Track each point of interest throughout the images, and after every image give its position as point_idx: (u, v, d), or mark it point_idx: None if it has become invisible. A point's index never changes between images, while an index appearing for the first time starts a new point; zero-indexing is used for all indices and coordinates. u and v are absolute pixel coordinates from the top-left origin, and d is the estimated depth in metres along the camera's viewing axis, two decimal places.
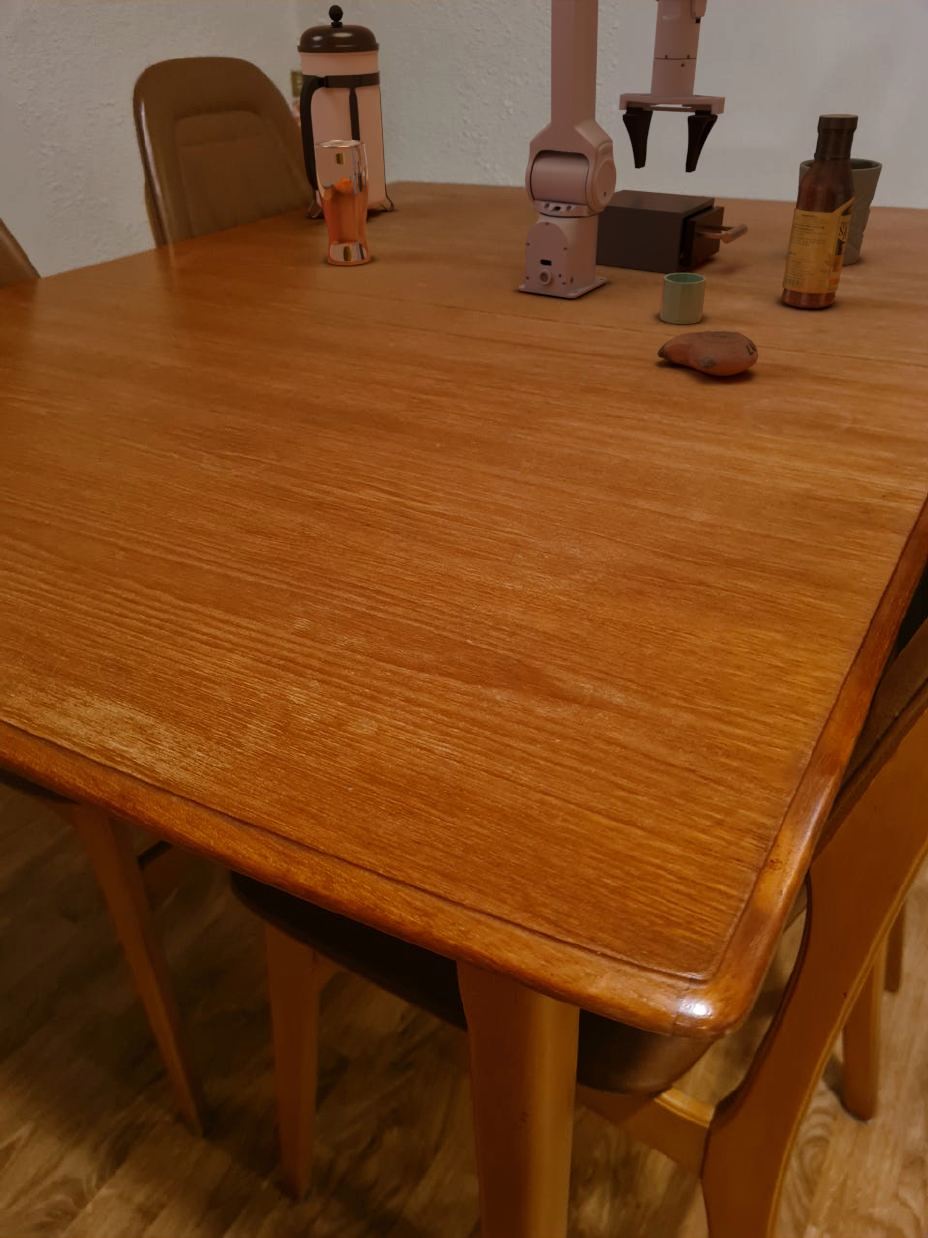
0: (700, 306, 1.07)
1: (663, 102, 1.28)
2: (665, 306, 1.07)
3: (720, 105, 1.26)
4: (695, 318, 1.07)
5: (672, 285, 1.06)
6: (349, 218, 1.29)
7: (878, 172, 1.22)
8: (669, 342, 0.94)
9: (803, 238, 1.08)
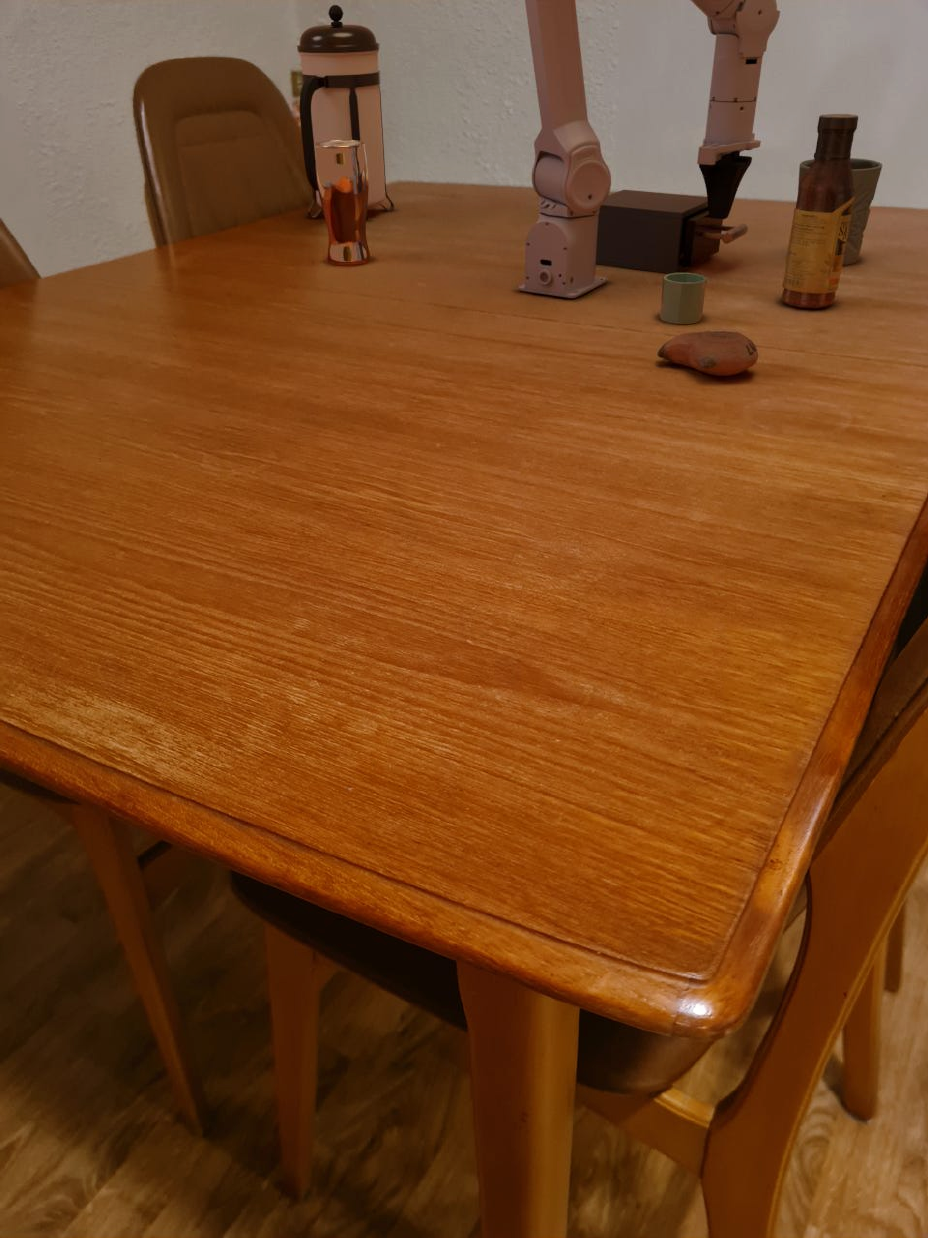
0: (700, 306, 1.07)
1: None
2: (665, 306, 1.07)
3: (700, 154, 1.15)
4: (695, 318, 1.07)
5: (672, 285, 1.06)
6: (349, 218, 1.29)
7: (878, 172, 1.22)
8: (669, 342, 0.94)
9: (803, 238, 1.08)
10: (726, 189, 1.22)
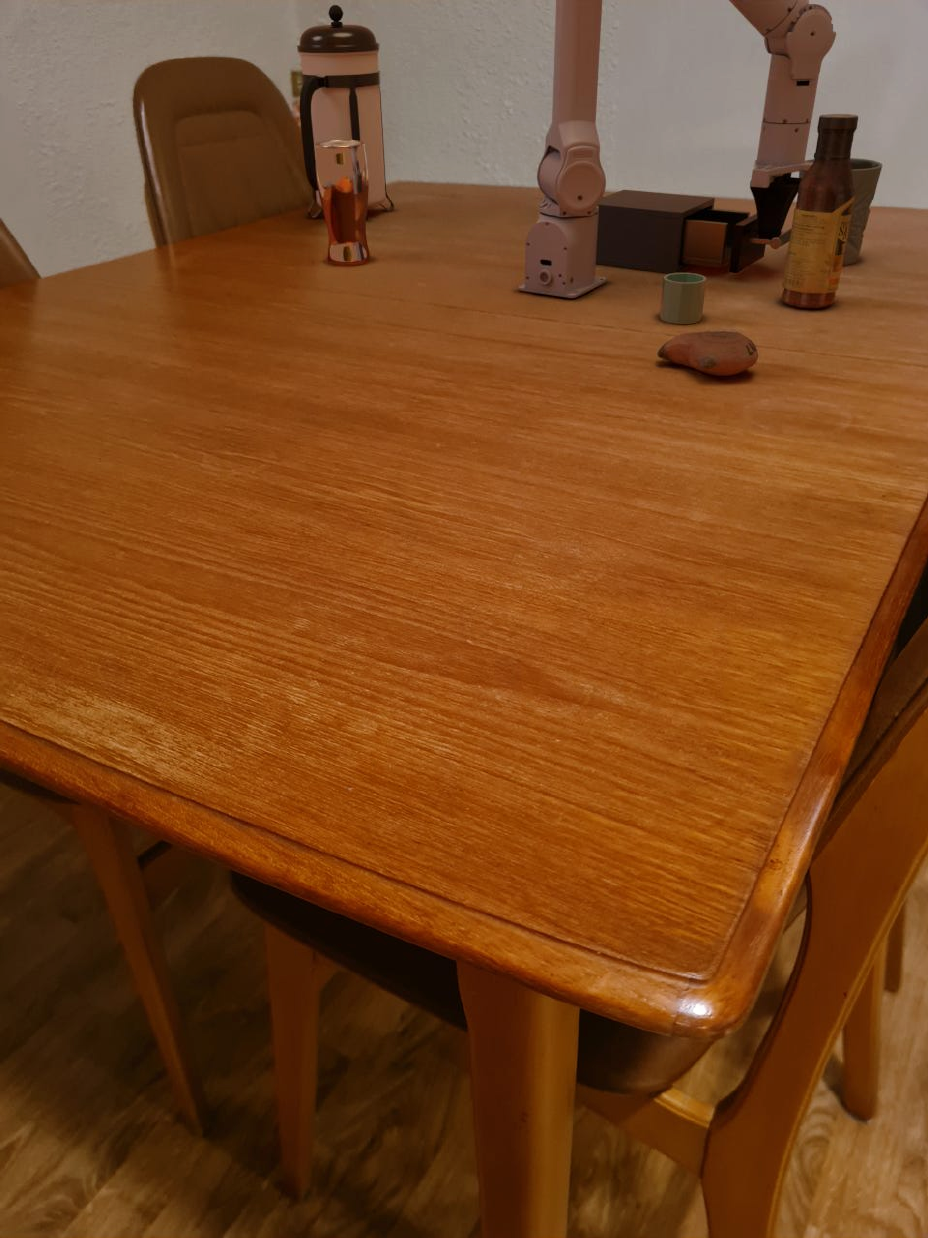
0: (700, 306, 1.07)
1: None
2: (665, 306, 1.07)
3: (754, 177, 1.13)
4: (695, 318, 1.07)
5: (672, 285, 1.06)
6: (349, 218, 1.29)
7: (878, 172, 1.22)
8: (669, 342, 0.94)
9: (803, 238, 1.08)
10: (777, 211, 1.20)
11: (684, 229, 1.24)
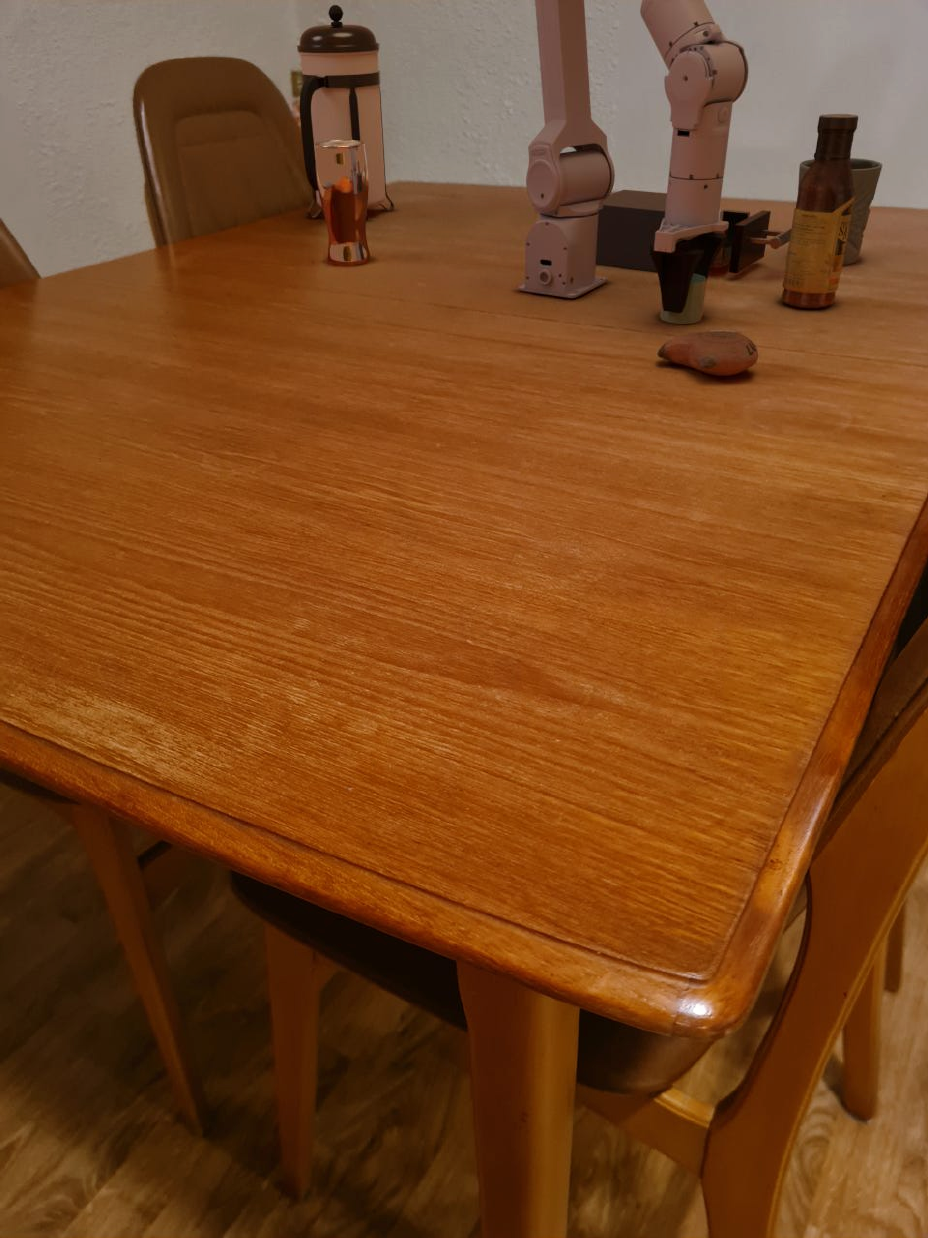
0: (700, 306, 1.07)
1: None
2: None
3: (658, 240, 0.99)
4: (695, 318, 1.07)
5: None
6: (349, 218, 1.29)
7: (878, 172, 1.22)
8: (669, 342, 0.94)
9: (803, 238, 1.08)
10: (682, 280, 1.04)
11: None
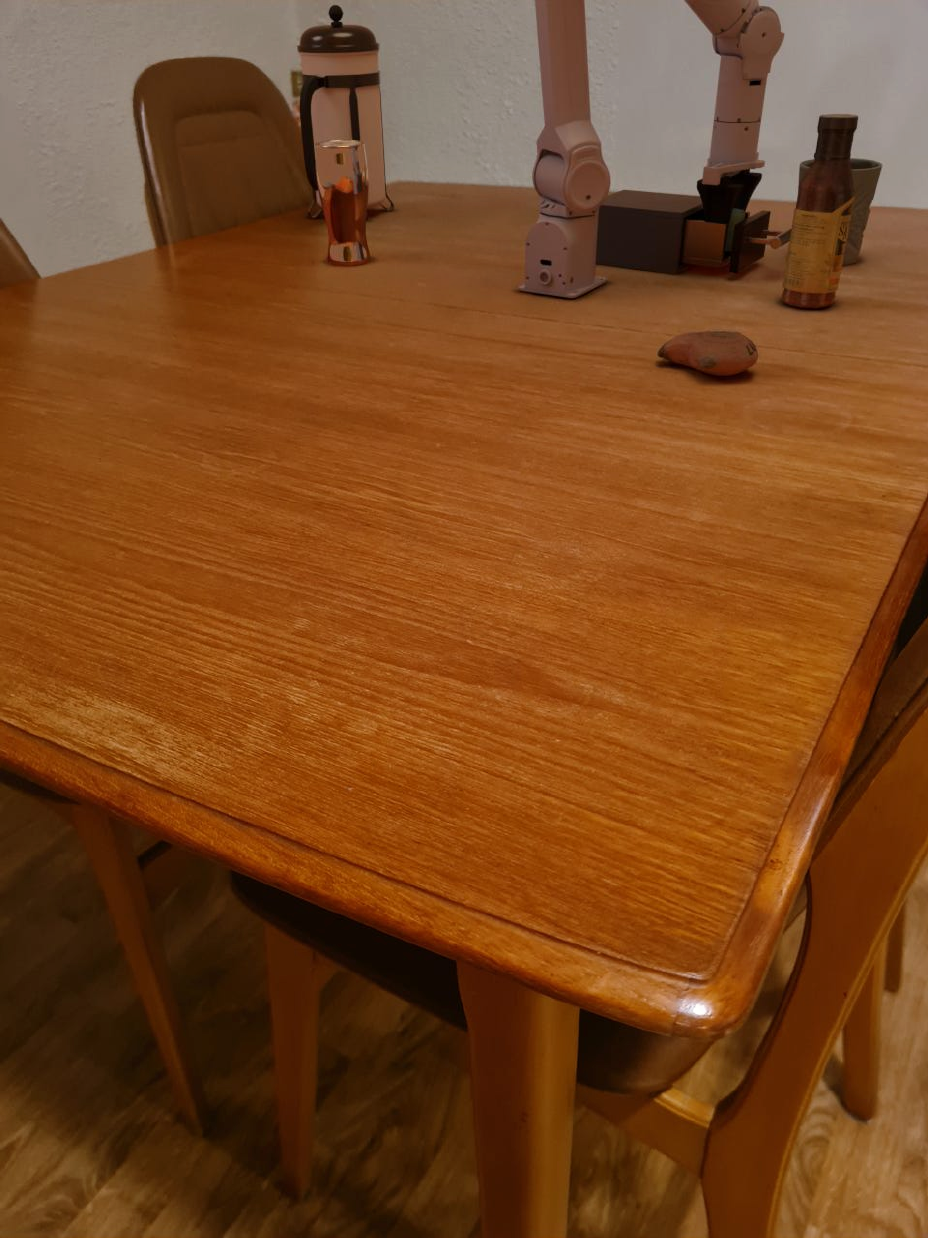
0: None
1: None
2: None
3: (705, 175, 1.16)
4: None
5: None
6: (349, 218, 1.29)
7: (878, 172, 1.22)
8: (669, 342, 0.94)
9: (803, 238, 1.08)
10: (724, 211, 1.21)
11: (684, 229, 1.24)
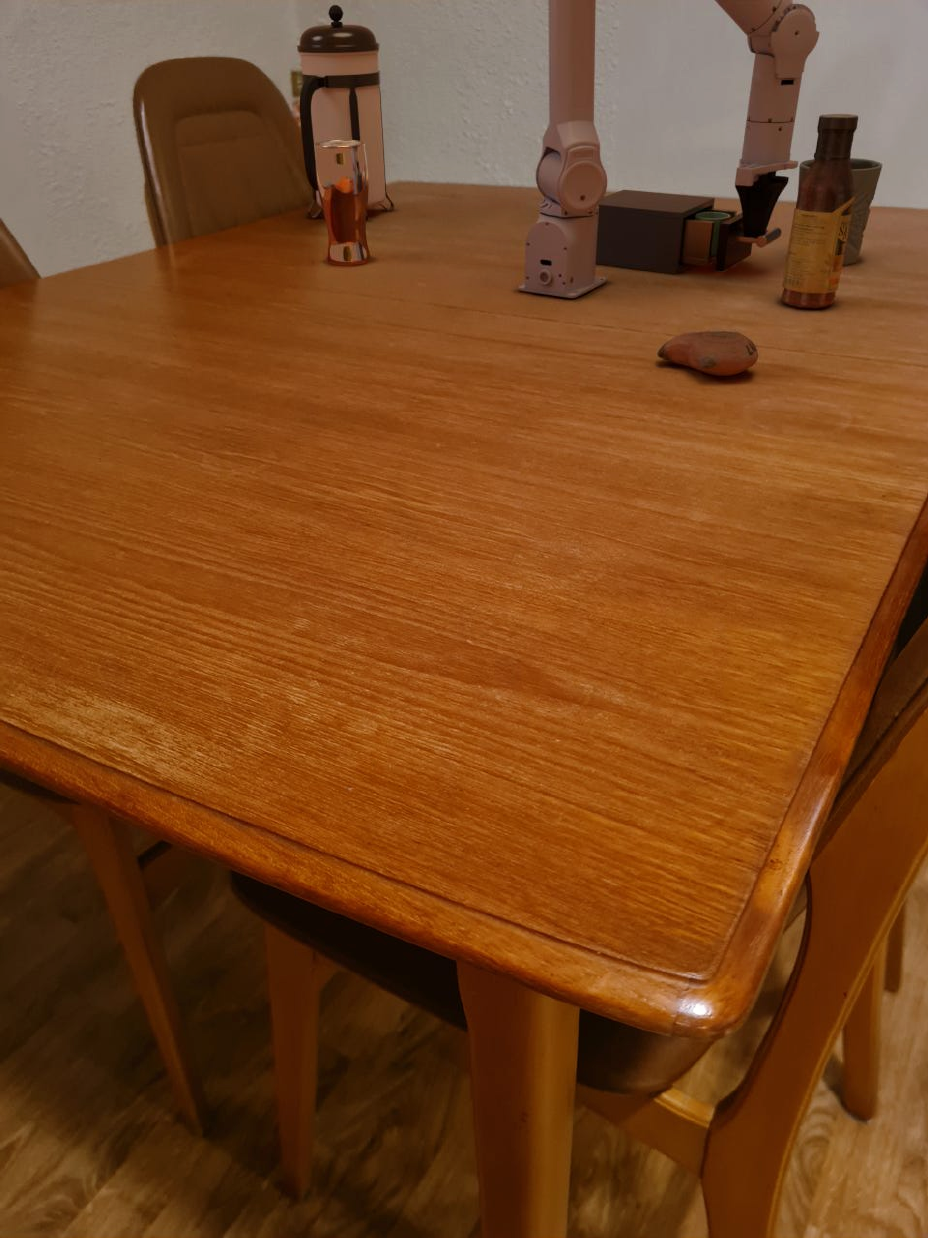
0: None
1: None
2: None
3: (738, 176, 1.14)
4: None
5: None
6: (349, 218, 1.29)
7: (878, 172, 1.22)
8: (669, 342, 0.94)
9: (803, 238, 1.08)
10: (762, 209, 1.21)
11: None
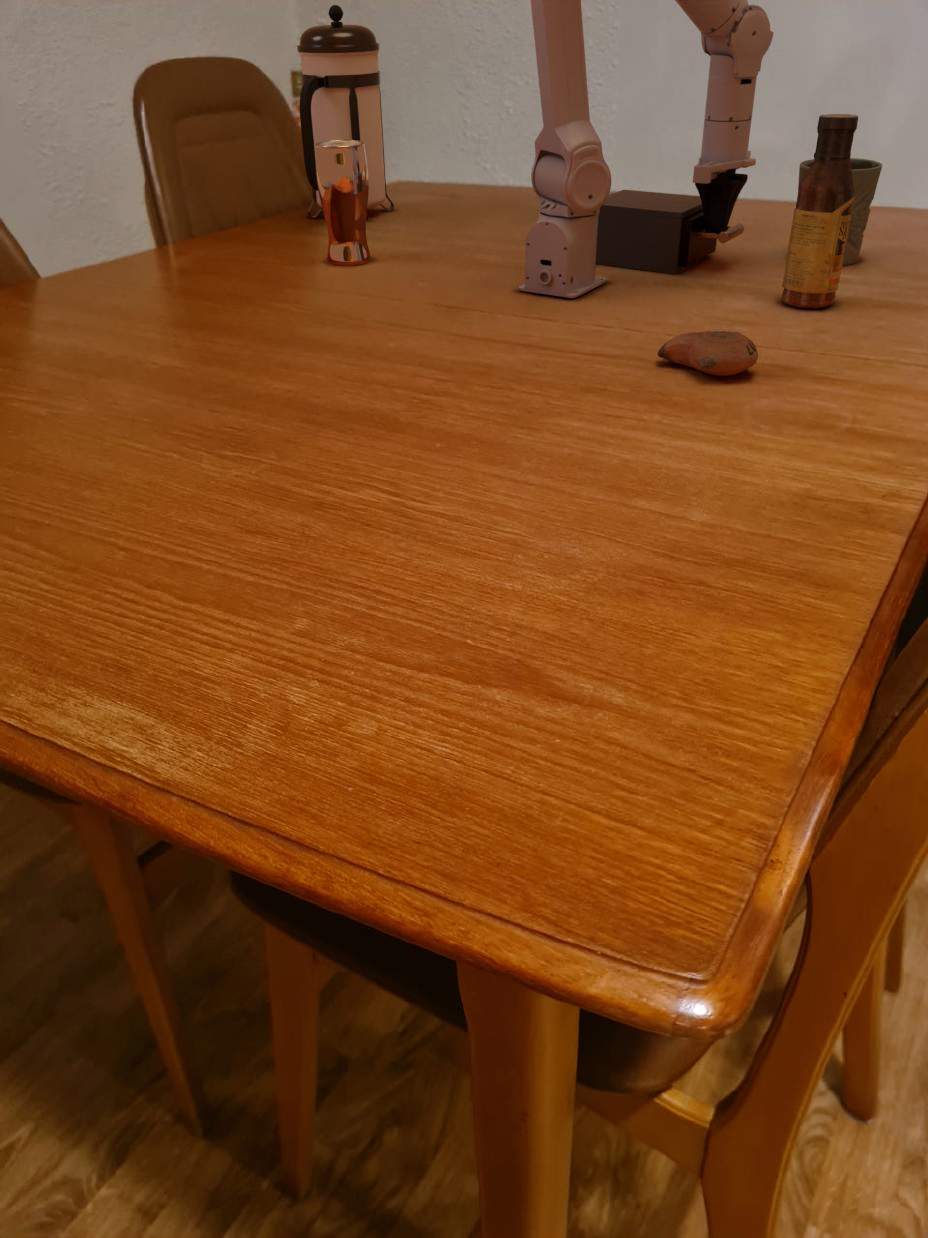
0: None
1: None
2: None
3: (696, 173, 1.17)
4: None
5: None
6: (349, 218, 1.29)
7: (878, 172, 1.22)
8: (669, 342, 0.94)
9: (803, 238, 1.08)
10: (722, 207, 1.23)
11: None
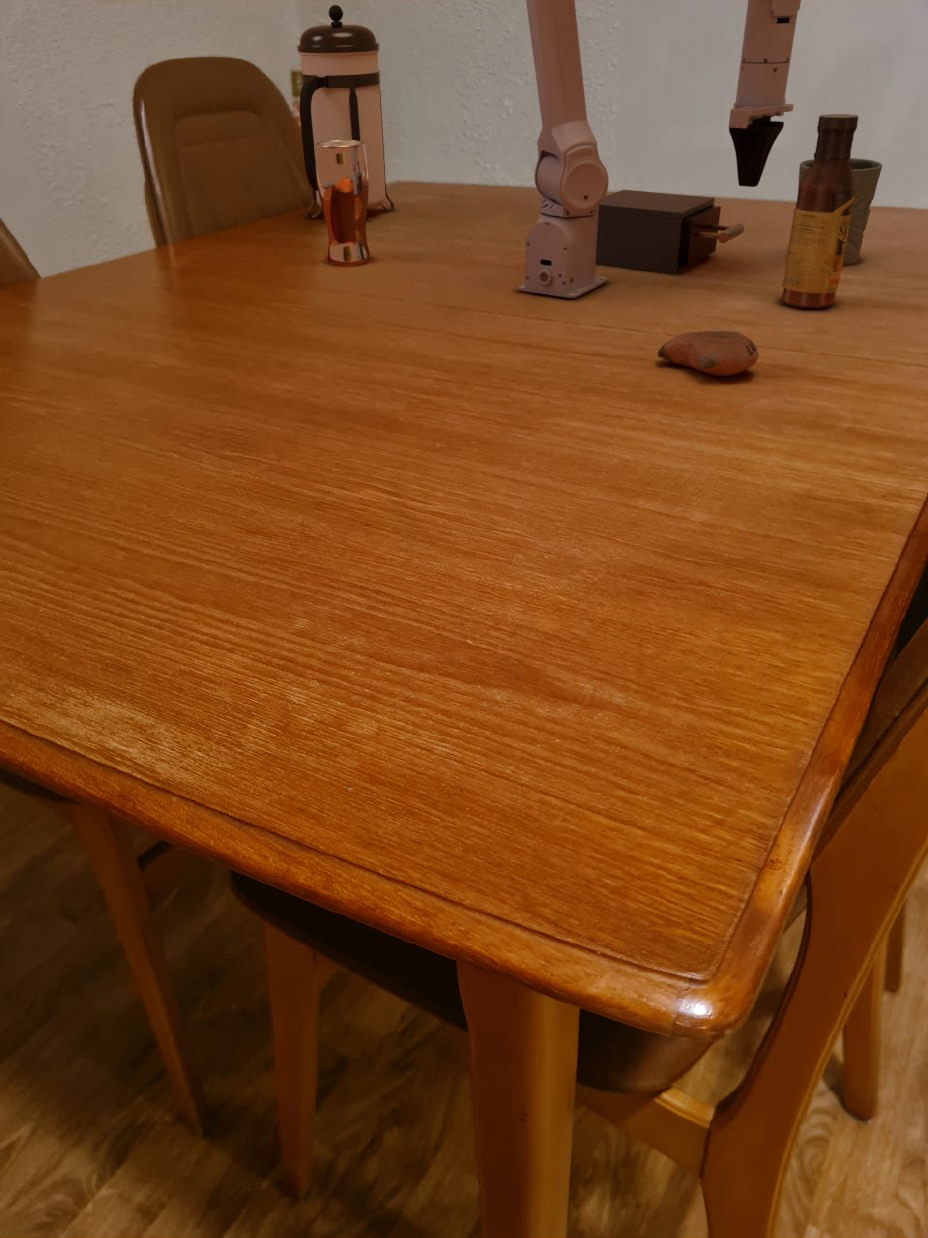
0: None
1: None
2: None
3: (732, 117, 1.12)
4: None
5: None
6: (349, 218, 1.29)
7: (878, 172, 1.22)
8: (669, 342, 0.94)
9: (803, 238, 1.08)
10: (757, 155, 1.18)
11: None
